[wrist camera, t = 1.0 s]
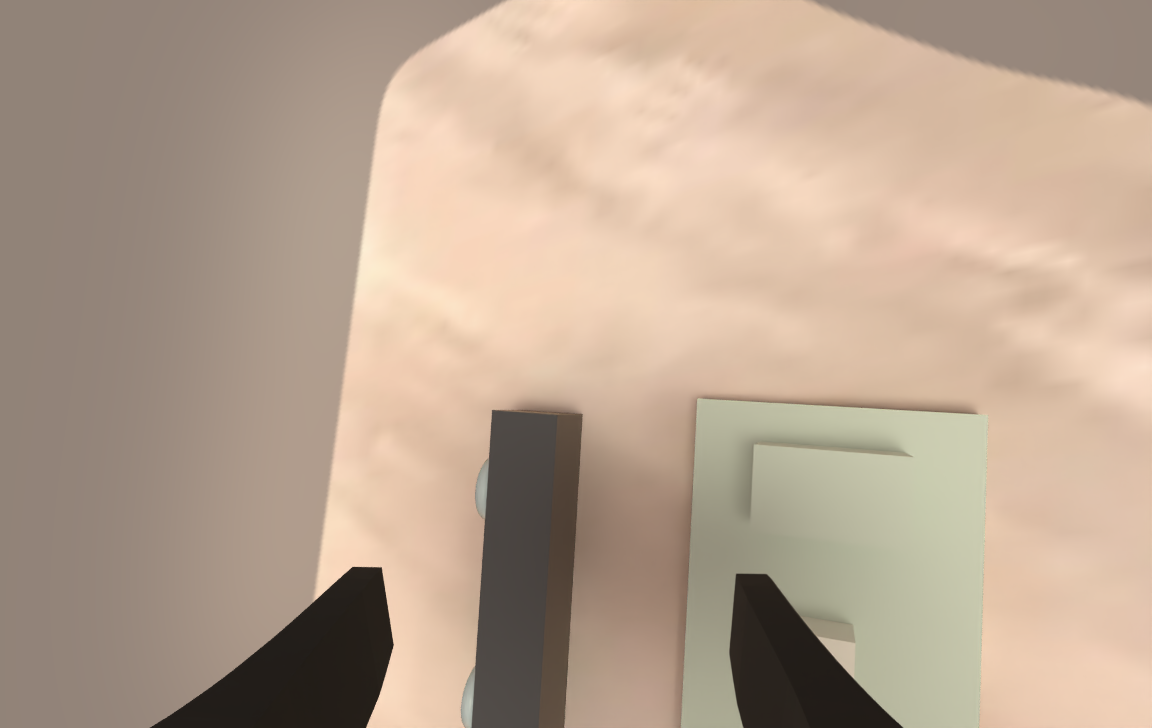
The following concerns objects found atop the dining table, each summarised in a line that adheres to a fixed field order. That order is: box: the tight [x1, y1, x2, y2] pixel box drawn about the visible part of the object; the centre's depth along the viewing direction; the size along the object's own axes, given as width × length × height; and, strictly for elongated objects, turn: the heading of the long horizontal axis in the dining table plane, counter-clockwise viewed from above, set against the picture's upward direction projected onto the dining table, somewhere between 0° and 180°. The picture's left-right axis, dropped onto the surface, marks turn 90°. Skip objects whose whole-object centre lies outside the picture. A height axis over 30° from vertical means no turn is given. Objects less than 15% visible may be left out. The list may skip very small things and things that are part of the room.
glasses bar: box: [461, 410, 583, 728], centre depth 28 cm, size 16×4×3 cm, turn 176°
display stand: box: [681, 398, 988, 728], centre depth 23 cm, size 18×10×4 cm, turn 176°
